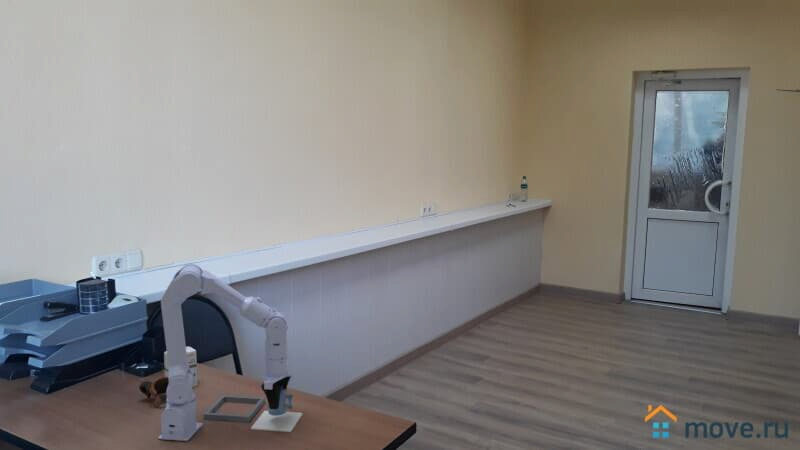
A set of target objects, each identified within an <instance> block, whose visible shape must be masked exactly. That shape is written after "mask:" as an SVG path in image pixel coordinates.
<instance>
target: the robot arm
mask: <svg viewBox="0 0 800 450" xmlns="http://www.w3.org/2000/svg"><path fill="white" fill-rule="evenodd" d="M198 292H200V295H207V294H214V295H216V296H218V297H219V298H220V299H223V300H225V301H226V302H228V303H229V304H232V305H233V306H235V307H236V308H238V311H239V314H240V316H242V317H244V318H245V319H247V320H248V321H249V322H251V323H253V324H255V325H256V326H258V327H259V328H263V329H264V332H265V342H264V345H265V346H264V347H265V348H264V349H265V373H264V376H265V377H264V382H263V383H262V384H261V390H262V391H263V393H264V394H265V398H266V400H267V404H269V407H270V409H278V407H279V400H280V394H281V390H282V388H284V389H286V390H287V389H288V385H289V383H290V380H291V377H292V374H293V373H292V371H289V363H288V342H287V341H288V340H287V331H288V329H289V328H288V324H287V323H288V322H287V319H286V316H285V315H284V314H283V312H281V310H277V308H275V307H270V306H269V305H267V304H265V303H264V302H262V298H261V297H259V296H257V297H254V296H244V295H243V294H241V293H240V292H239V291H237V290H236V289H235V288H233V287H231V286H230V285H229V284H227V283H226V282H224V281H223V280H222V279H220V278H219V277H218V276H216V275H214V274H213V273H211V272H210V271H209V270H207V269H202V268H201V267H200V266H199V265H197V264H193V263H190V264H189V263H188V264H186V265H184V266H182V267H181V268H180V269H179V270H178V271H176V273H174V276H173V277H172V279H171V281H170V283H169V284H168V286H167V287H166V289H165V291H164V293H163V295H162V296H161V298H160V308H161V313H162V314H161V315H162V316H161V317H162V324H163V331H164V332H163V333H164V342H165V346H166V347H165V348H166V349H165V350H166V351H167V357H168V365H169V373H168V379H169V385H168V387H167V390H166V393H165V394H166V395H167V403H166V404H165V405H166V406H165V408H164V410H163V411H162V412H161V416H160V427H161V429H160V430H161V434H160V435H159V436H158V440H167V441H182V442H187V441H189V440H190V439H191V438H192V437H193V436H194V435H195V434H196V433H197V432H198V431H199V430H200V429H201V428H202V427H203V425H204V424H203V422H202V423H201V422H197V421H198V420H197V400H196V393H194V391H193V388H194V387H193V384H194V375H193V373H192V372H191V370H190V368H189V363H188V360H187V352H186V347H187V346H186V336H185V329H184V320H183V311H182V304H183V303H184V302H185V301H186V300H187V299H188V298H190V297H192V296H193V295H196V294H197V293H198Z"/></svg>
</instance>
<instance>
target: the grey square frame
mask: <svg viewBox="0 0 800 450" xmlns="http://www.w3.org/2000/svg"><path fill="white" fill-rule="evenodd" d="M224 403H242V404H255V405H254V406H253V407H252V408H251V410H250V411H249V412H248V413H247V414H233V413H218V412H216V411H217V410H219V408H220V407H221V406H222V405H223V404H224ZM265 404H266V397H257V396H241V395H226V394H225V395H224V394H223V395H221V396H220V397H219V398H218V399H217V400H216V401H215V402H214V403H213V404H212V405H211V406H210V407H209V408H208V409H207V410H206V411H205V412H204V413H203V420H209V421H223V420H227V421H226V422H239V423H240V422H241V423H250V422H251V421H252V420H253V418H254V417H256V414H257V413H258V412H259V411H260V409H261V408H262V407H263V405H265Z"/></svg>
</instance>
